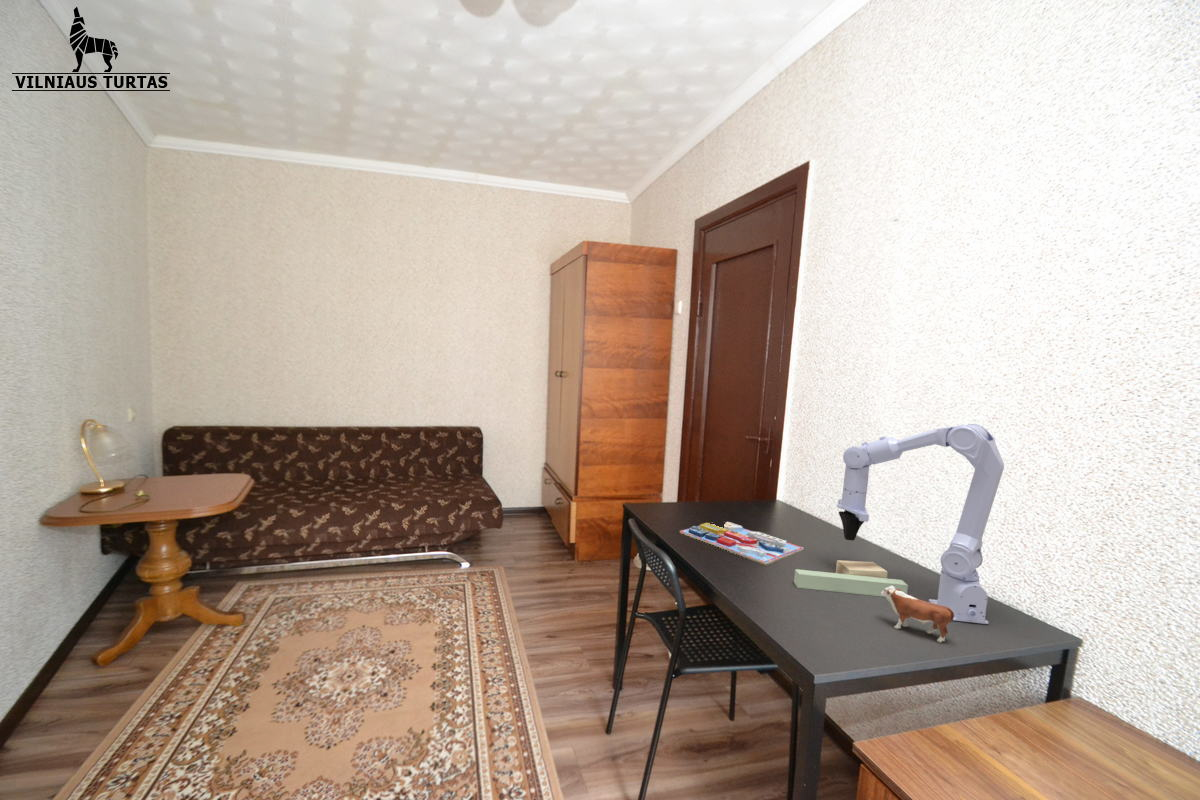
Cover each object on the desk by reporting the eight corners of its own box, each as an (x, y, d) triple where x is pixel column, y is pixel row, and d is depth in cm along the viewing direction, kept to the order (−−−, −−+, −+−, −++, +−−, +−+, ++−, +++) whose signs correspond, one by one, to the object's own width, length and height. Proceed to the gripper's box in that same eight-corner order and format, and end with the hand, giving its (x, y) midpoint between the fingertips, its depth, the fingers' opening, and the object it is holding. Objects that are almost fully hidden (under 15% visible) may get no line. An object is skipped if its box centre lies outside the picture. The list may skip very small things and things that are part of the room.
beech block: (885, 590, 126) (887, 571, 125) (847, 588, 125) (849, 569, 125) (871, 580, 132) (873, 562, 131) (834, 578, 131) (836, 560, 131)
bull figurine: (878, 615, 112) (883, 580, 111) (951, 639, 103) (956, 601, 103) (874, 622, 108) (879, 586, 108) (949, 647, 100) (954, 609, 99)
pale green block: (906, 599, 121) (907, 585, 121) (797, 587, 123) (799, 574, 123) (899, 593, 124) (901, 579, 124) (793, 582, 126) (795, 569, 126)
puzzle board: (804, 551, 151) (805, 543, 151) (765, 568, 136) (766, 559, 135) (719, 523, 174) (720, 515, 173) (678, 534, 158) (679, 526, 158)
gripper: (829, 482, 141) (824, 529, 142) (850, 495, 127) (845, 547, 128) (854, 485, 141) (849, 531, 142) (879, 498, 126) (873, 550, 127)
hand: (849, 539), depth 135 cm, fingers closed
